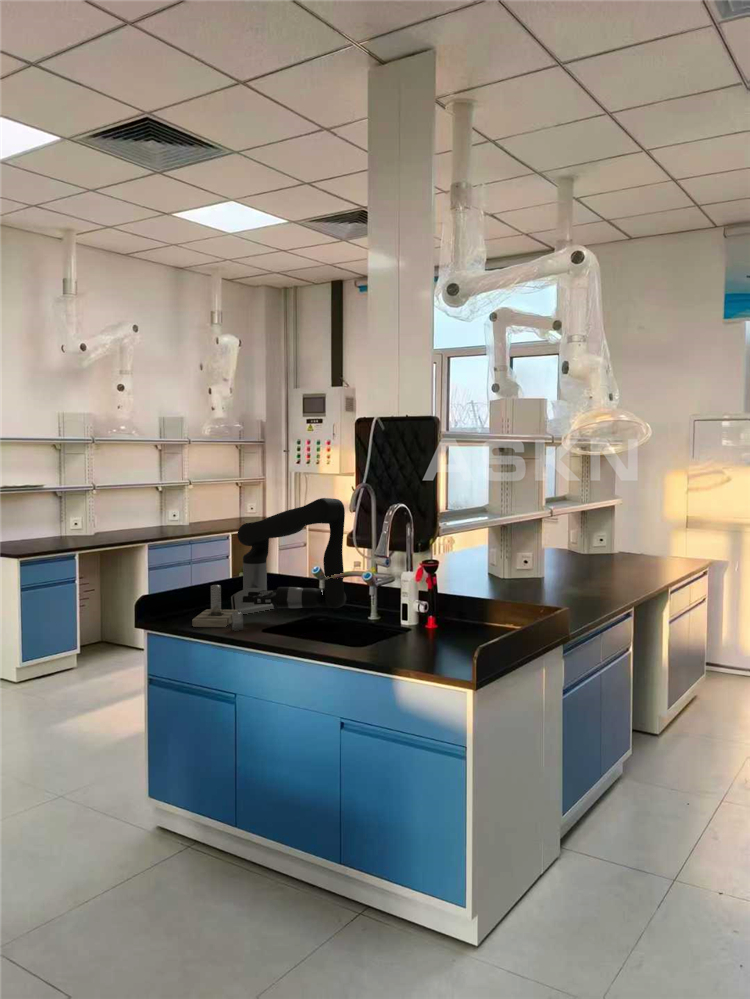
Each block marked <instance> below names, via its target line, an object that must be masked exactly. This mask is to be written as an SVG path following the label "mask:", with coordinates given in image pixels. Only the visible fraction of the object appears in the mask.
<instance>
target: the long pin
mask: <svg viewBox="0 0 750 999" xmlns="http://www.w3.org/2000/svg"><path fill="white" fill-rule="evenodd" d="M210 609H211V616H221V610H222V585H221V584H213V585H210Z"/></svg>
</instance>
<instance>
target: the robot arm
mask: <svg viewBox="0 0 750 999" xmlns="http://www.w3.org/2000/svg"><path fill="white" fill-rule="evenodd" d="M345 512H346V509H345V504H344V503H343V502H342V500H340V499H337V498H329V497H327V498H326V497H321V498H318V499H316V500H313V501H311V502H309V503H307V504H305V505H303V506H300V507H295V508H294V507H293V508H292V509H287V510H284V511H281V512H278V513H276V514H273V515H271V516H269V517H266V518H264V519H261V520H257V521H253V522H246V523H243V524H242V525H241V526H240V527H239V528H238V531H237V539H238V541H239V542H240V544H242V545H243V546H247V547H251V549H250V550H249V551H248V552H247V553H245V554H244V555H243V557H242V574H243V575H242V577H243V578H242V579H243V580H242V586H243V587H242V590H244V589H248V588H262V589H265V590H262V591H259V593H258V592H248V596H243V602H244V603H254V604H255V605H256V604H269V605H270V604H272V603H275V605H276V608H277V609H301V608H305V609H307V608H310V609H311V608H331V609H338V608H341V607H343V606H344V605H345V604H346V602H347V594H346V592H345V587H344V577H343V578H338V579H337V578H336V579H333V578H330V579H328V580H325V579H324V588H323V589H324V591H323V595H322V592H321V589H322V588H315V587H298V586H278V587H277V588H276V590H268V583H267V581H268V578H267V577H268V575H267V574H268V573H267V572H268V571H267V565H268V564H267V559H268V556H269V543H270V539H274V538H276V539H277V538H282V537H283V538H285V537H288V536H292V535H295V534H298V533H300V532H301V531H302V530H303V529H304V528H305V527H306V526H310V525H316V524H325V525H326V524H327V525H328V526H329V539H328V542H327V544H326V545H327V546H326V547H325V550H324V554H323V560H322V561H323V572H324V573H323V574H324V575H325V576H326V577H327V576H329V577H331V575H334V574H340V573H344V571H345V570H344V558H343V542H344V533H345V531H344V530H345V520H346V519H345V517H346V513H345ZM344 574H345V573H344ZM325 576H324V577H325ZM257 599H259V601H257Z"/></svg>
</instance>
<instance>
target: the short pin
mask: <svg viewBox="0 0 750 999" xmlns="http://www.w3.org/2000/svg"><path fill="white" fill-rule="evenodd" d="M231 624H232V625H231V626H232V631H233V630H234V631H233V632H240V631H239V630H242V631H243V630H244V615H243V612H233V613H232V622H231Z"/></svg>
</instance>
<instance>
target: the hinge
mask: <svg viewBox="0 0 750 999" xmlns="http://www.w3.org/2000/svg"><path fill="white" fill-rule="evenodd" d="M262 590H265V589H262V588H248V589H244V590H243V589H242V590H239V591H237V592H236V593H234V594H233V595H231V596H230V602H231V610H238V612H243V614H247V615H249V614H248V613H253V614H255V613H254V612H258V613H260V612H259V611H264V612H266V611H265V610H269V611H271V610H270V609H274V610H275V608H274V607H275V606H274V604H273V603H271V604H270V605H269V604H256V605H255V604H254V603H244V602H243V596H248V592H258V593H259V591H262ZM257 601H259V599H257Z"/></svg>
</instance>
